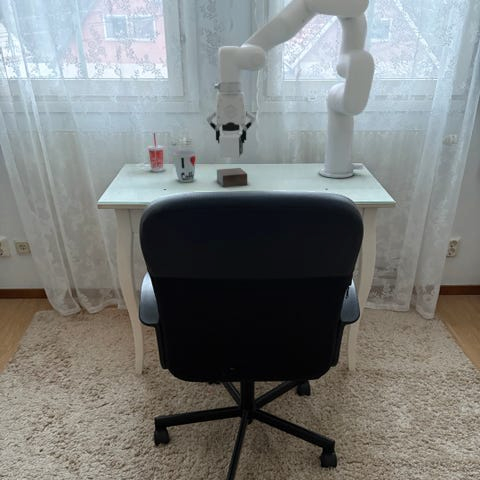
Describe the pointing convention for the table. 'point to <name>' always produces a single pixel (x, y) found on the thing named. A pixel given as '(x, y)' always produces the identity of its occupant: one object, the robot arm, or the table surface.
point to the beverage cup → (156, 157)
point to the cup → (185, 165)
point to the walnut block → (231, 177)
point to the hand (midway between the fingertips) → (231, 142)
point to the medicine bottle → (231, 141)
